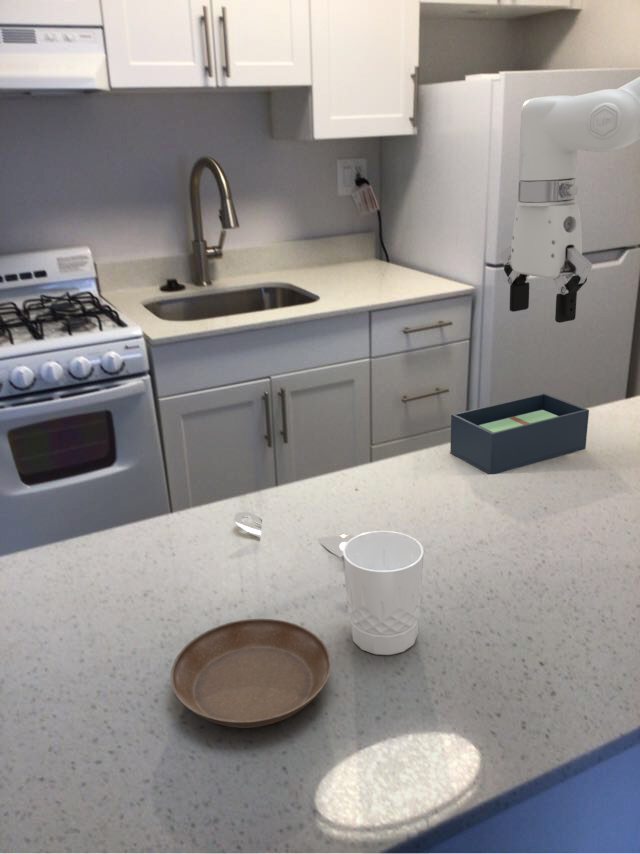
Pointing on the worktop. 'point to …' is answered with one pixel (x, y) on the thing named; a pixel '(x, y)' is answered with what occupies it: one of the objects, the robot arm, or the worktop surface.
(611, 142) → the robot arm
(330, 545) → the ceramic shards
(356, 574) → the white cup
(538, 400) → the bin
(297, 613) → the worktop surface
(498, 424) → the light green rectangular block
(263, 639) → the saucer
